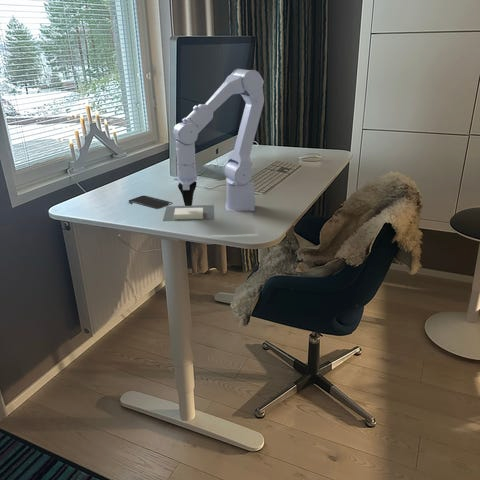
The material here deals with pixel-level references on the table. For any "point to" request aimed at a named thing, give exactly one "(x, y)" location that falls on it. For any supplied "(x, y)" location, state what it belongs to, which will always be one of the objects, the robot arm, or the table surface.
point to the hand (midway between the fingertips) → (188, 205)
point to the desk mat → (207, 209)
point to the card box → (188, 213)
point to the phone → (150, 202)
